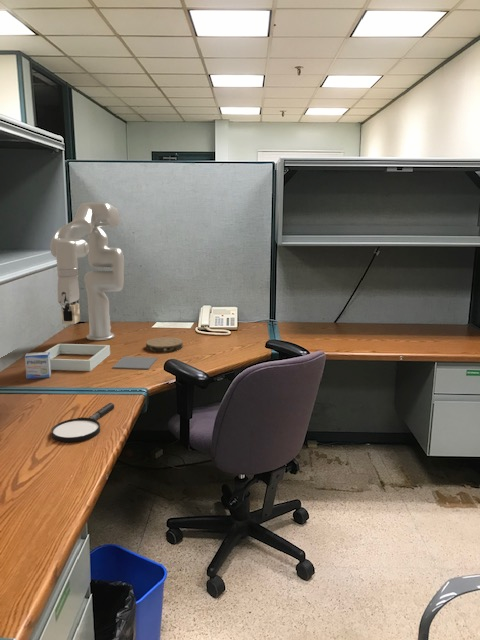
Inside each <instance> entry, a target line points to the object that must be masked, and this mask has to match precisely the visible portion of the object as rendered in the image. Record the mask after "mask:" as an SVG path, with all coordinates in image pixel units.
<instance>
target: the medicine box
mask: <svg viewBox="0 0 480 640" xmlns="http://www.w3.org/2000/svg"><path fill="white" fill-rule="evenodd" d="M24 363H25V364H24V365H25V376H26V377H25V378H26V380H35V379H36V380H37V379H48V378H49V379H50V377H51V374H52V370H51V368H50V353H49V352H45V351H44V352H26V354H25V356H24Z"/></svg>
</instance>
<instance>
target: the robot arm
mask: <svg viewBox="0 0 480 640" xmlns="http://www.w3.org/2000/svg"><path fill="white" fill-rule="evenodd" d="M120 221H121V217H120V213H119V210H118V209H117V208H116V206H113V204H111V203H108V202H99V201H98V202H95V201H94V202H93V201H92V202H83V203H81V204H79V206H78V208H77V210H76V213H75V215H74V218H73V219H72V221H71V222H68V223H67V224H64V225H62V226H61V227H60V228H58V229H56V230H55V232H54V234H53V236H52V239H51V241H50V246H49V249H50V251H49V252H50V253H51V255H52V256H53V257H55V258H56V271H57V277H58V278H57V302H58V303H59V304H60V307H61V306H62V308H63V309H62V310H63V317H64V321H72V311H71V303H76V304H79V299H80V285H79V279H78V277H79V264H78V263H79V261H78V259H82V258H86V256H87V255H88V265H89V266H90V267H92V268H95V269H112V270H91V271H88V272H86V274H85V275H84V279H83V281H84V285H85V289H86V296H87V309H88V310H87V311H88V323H89V325H88V327H89V328H88V329H89V333H88V334H86V339H87V340H89V341H107V340H110V339H111V340H112V339H113V338H115V334H114V333H113V332H111V329H112V326H111V318H110V317H111V315H110V300H109V298H108V296H107V295H106V293H105V292H121V291H122V290H123V288H124V283H125V280H124V279H125V278H124V277H125V257H124V252H123V250H122V249H121V248H119V247H109V246H108V245H109V240H108V239H109V238H108V235H107V233H106V232H105V231H104V229H102V228H115V227H117V226H119V224H120ZM86 237H88V242H87V241H86V240H85V239H83V238H86ZM67 305H68V306H67ZM62 310H61V311H62Z"/></svg>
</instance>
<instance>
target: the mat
mask: <svg viewBox="0 0 480 640" xmlns="http://www.w3.org/2000/svg"><path fill="white" fill-rule="evenodd" d="M157 360H158V357H149V356H148V357H147V356H145V357H144V356H123V357H121V359H119V360H118V361H117V362H116V363H115V364H114V365H113V366H112V367H111V368H112V369H121V370H122V369H124V370H149V369H151V367H152V366H153V365H154V363H155V362H156V361H157Z"/></svg>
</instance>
